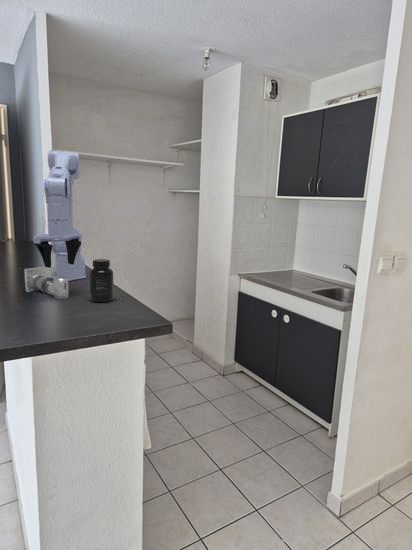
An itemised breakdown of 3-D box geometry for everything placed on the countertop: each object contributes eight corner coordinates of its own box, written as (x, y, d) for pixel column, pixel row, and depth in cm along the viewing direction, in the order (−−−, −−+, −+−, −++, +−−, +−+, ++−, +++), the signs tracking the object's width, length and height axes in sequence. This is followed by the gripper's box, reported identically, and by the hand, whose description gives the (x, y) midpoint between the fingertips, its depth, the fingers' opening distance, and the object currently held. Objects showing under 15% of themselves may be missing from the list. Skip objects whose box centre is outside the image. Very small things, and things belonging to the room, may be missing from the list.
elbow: (71, 297, 112) (70, 278, 111) (58, 300, 109) (58, 280, 108) (56, 292, 117) (56, 273, 116) (44, 294, 114) (43, 275, 113)
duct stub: (25, 291, 117) (24, 269, 115) (49, 287, 123) (48, 266, 121) (36, 295, 113) (35, 272, 112) (60, 290, 119) (59, 269, 118)
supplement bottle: (118, 298, 114) (118, 259, 111) (105, 304, 108) (104, 263, 105) (98, 295, 116) (98, 257, 113) (85, 301, 110) (84, 260, 107)
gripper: (42, 221, 101) (44, 270, 104) (87, 220, 113) (88, 264, 116) (28, 219, 105) (30, 266, 108) (73, 218, 117) (74, 261, 120)
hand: (59, 265), depth 112 cm, fingers open, 7 cm apart
